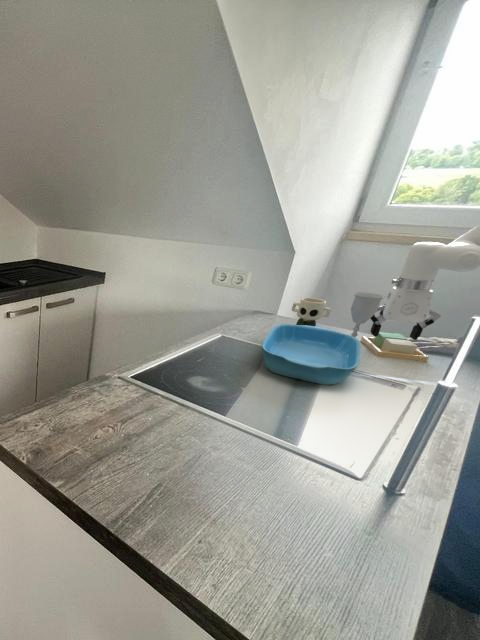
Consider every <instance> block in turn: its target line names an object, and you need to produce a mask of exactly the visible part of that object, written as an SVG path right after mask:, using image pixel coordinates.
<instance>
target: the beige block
mask: <svg viewBox="0 0 480 640" xmlns="http://www.w3.org/2000/svg"><path fill="white" fill-rule="evenodd" d="M416 349H418V345H416V344H415V343H414V342H412V341H411V340H408V339H407V340H398V339H388V338H385V340H384V343H383V345H382V348H381V350H382V351H385V352H394V353H403V354H412V355H414V353H415V351H416Z"/></svg>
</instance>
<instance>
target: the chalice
mask: <svg viewBox="0 0 480 640" xmlns="http://www.w3.org/2000/svg"><path fill="white" fill-rule="evenodd" d="M353 294H354V299H353V302H352V304H351V307H350V314H351V319H352V323H353V322H354V323H355V326H354V327H353V328H352V330H353V331H352V333H350V336H353V337H355V338H357V336H359V334H358V332H359V331H360V326H361V325H364V324H366V323H367V322H368V321H369V320H371V319H370V318H371V317H372V316H373V315H376V313H378V311H377V309H378V307H379V306H380V304H381V301H382V300H383V299H384V298H386V297H385V295H383V294H379V293H374V292H364V291H363V292H361V291H360V292H354V293H353Z"/></svg>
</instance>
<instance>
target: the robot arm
mask: <svg viewBox="0 0 480 640" xmlns="http://www.w3.org/2000/svg"><path fill="white" fill-rule="evenodd" d="M405 259H406V260H405V262H404V264H403V267H402V269H401V272H400V275H399V277H397V279H392V280H391V285H395V286H393V287H392V288H391V289H390V291H389V292H388V294H387V295H386V297H385V299H384V301H383V303H382V304H381V305H380V304H379V307H378V309H377V312H379V315H378V316H376V314H374V315H373V316H372V317H371V318H370V319H369V320H370V321H372V325H371V328H370V330H369V331H370V333H371V335H372V337H373V336H374V337H375V336H378V334H379V332H381V329H382V323H384V322H385V321H391V322H401V323H402V322H403V323H404V322H405V323H415V325H413V327H412V330H411V332H410V334H409V338H410V339H412V340H414V341H417V340H418V339H419V338H420V337H421V335H422V333H423V330H424V329H426V328H427V327H428V326H430V325H432V324H434V323H435V322H436V321H437V320H438V319H439V318H441V317H442V314H439V313H438V312H436V311H434V310H433V309H431V307H432V304H433V299H434V290H432V286H433V284H434V282H435V280H436V277H437V275H438V272H439V270H446V271H451V272H457V273H466V272H472V271H475V270H477V269H479V268H480V224H477V225H476V226H475V227H473V228H471V229H469V230H468V231H467V232H465V233H463V234H462V235H461V236H459V237H458V238H456V239H454V240H452V241H451V242H450V243H448V244H445V243H441V242H433V241H421V242H416V243H414V244H412V245H411V247H410V249H409V252H408V254H407V257H406V258H405ZM429 315H430V317H429Z"/></svg>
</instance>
